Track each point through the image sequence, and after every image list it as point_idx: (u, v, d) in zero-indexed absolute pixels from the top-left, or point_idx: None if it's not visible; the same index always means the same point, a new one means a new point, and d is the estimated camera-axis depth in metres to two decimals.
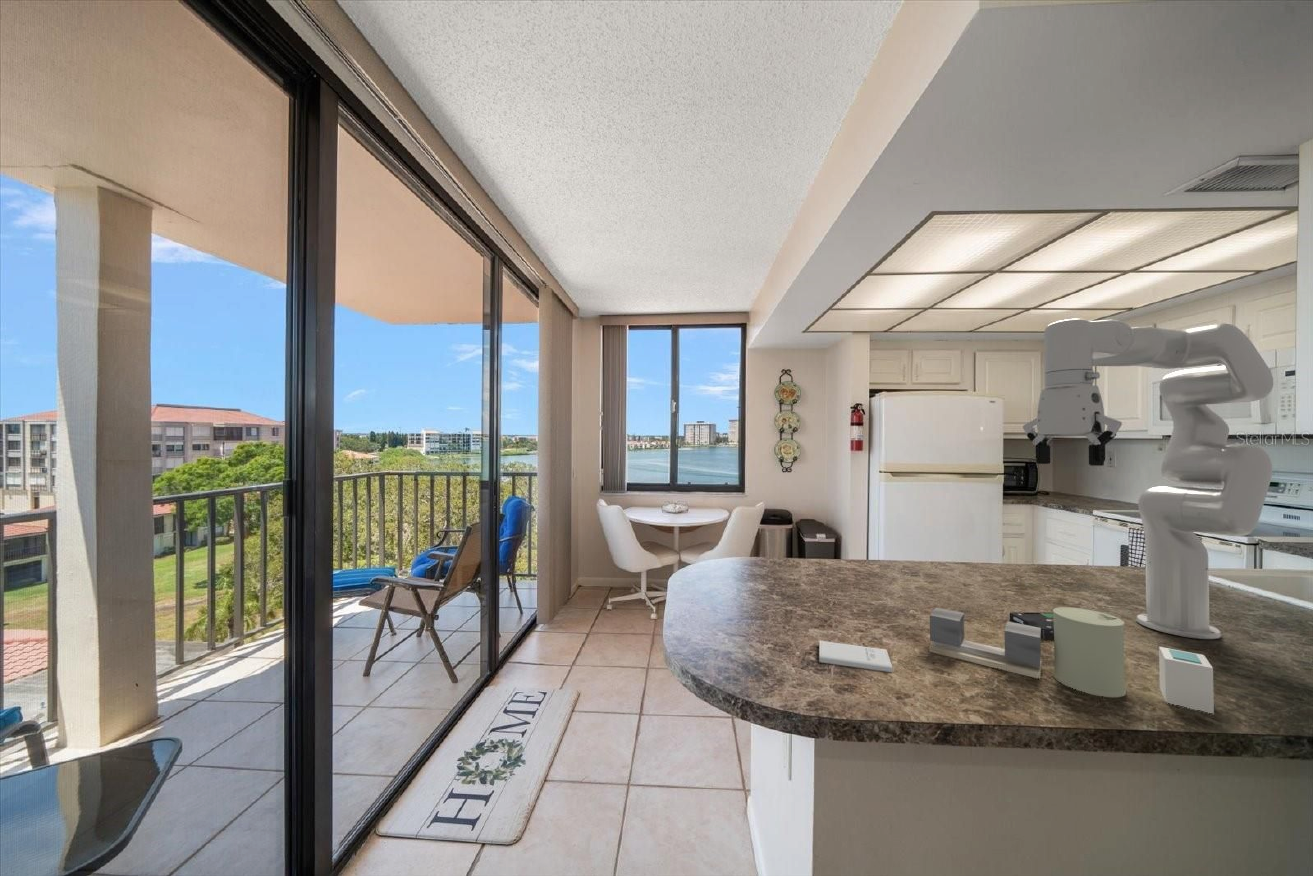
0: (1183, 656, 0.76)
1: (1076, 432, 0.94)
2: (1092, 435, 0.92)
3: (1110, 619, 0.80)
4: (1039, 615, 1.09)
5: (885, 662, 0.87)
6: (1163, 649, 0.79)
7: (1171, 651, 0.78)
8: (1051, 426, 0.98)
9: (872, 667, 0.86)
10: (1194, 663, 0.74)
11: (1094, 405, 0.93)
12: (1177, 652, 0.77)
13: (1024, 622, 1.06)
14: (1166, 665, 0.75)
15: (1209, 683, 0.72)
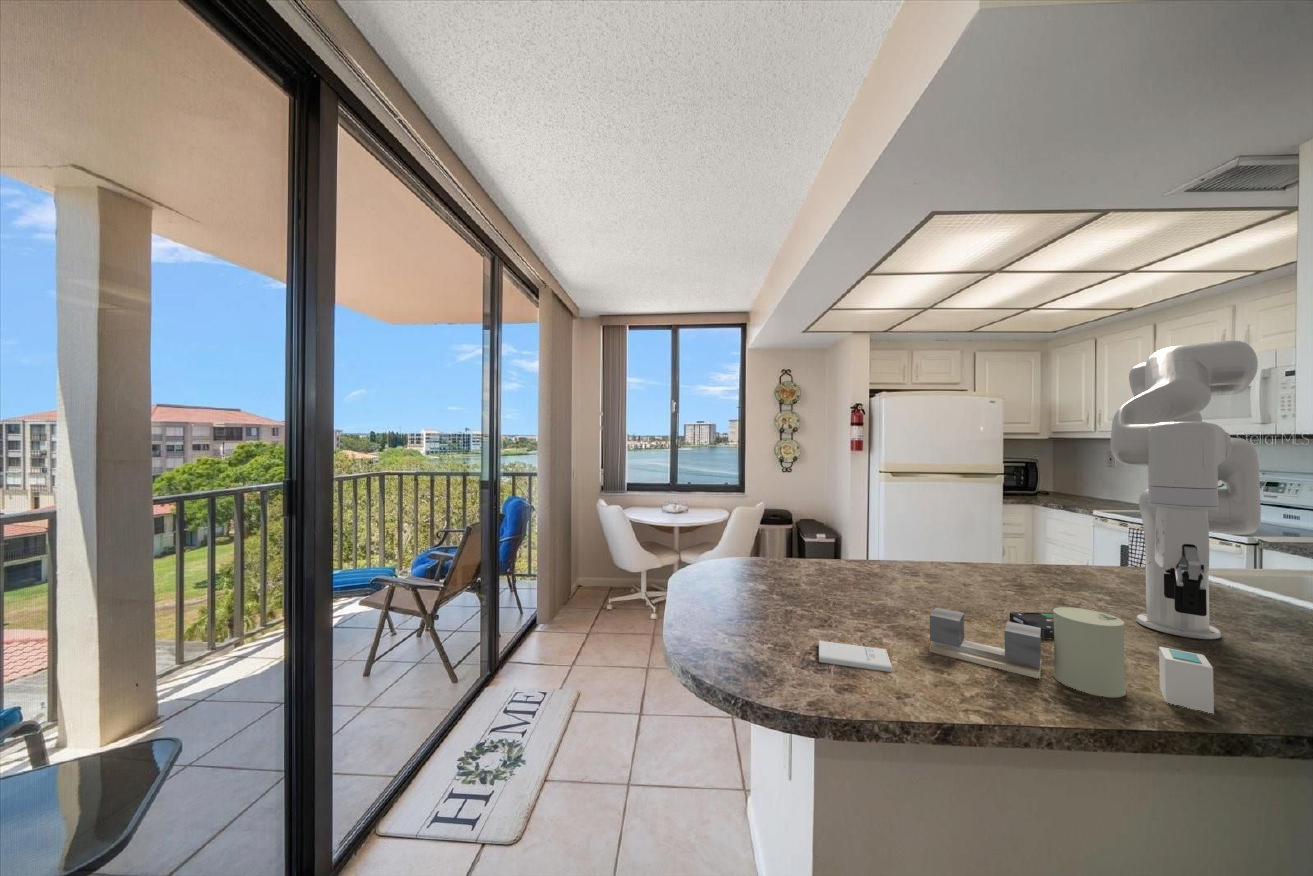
0: (1183, 656, 0.76)
1: None
2: None
3: (1110, 619, 0.80)
4: (1039, 615, 1.09)
5: (884, 662, 0.87)
6: (1163, 649, 0.79)
7: (1171, 651, 0.78)
8: None
9: (872, 666, 0.86)
10: (1194, 663, 0.74)
11: None
12: (1177, 652, 0.77)
13: (1024, 622, 1.06)
14: (1166, 665, 0.75)
15: (1209, 683, 0.72)
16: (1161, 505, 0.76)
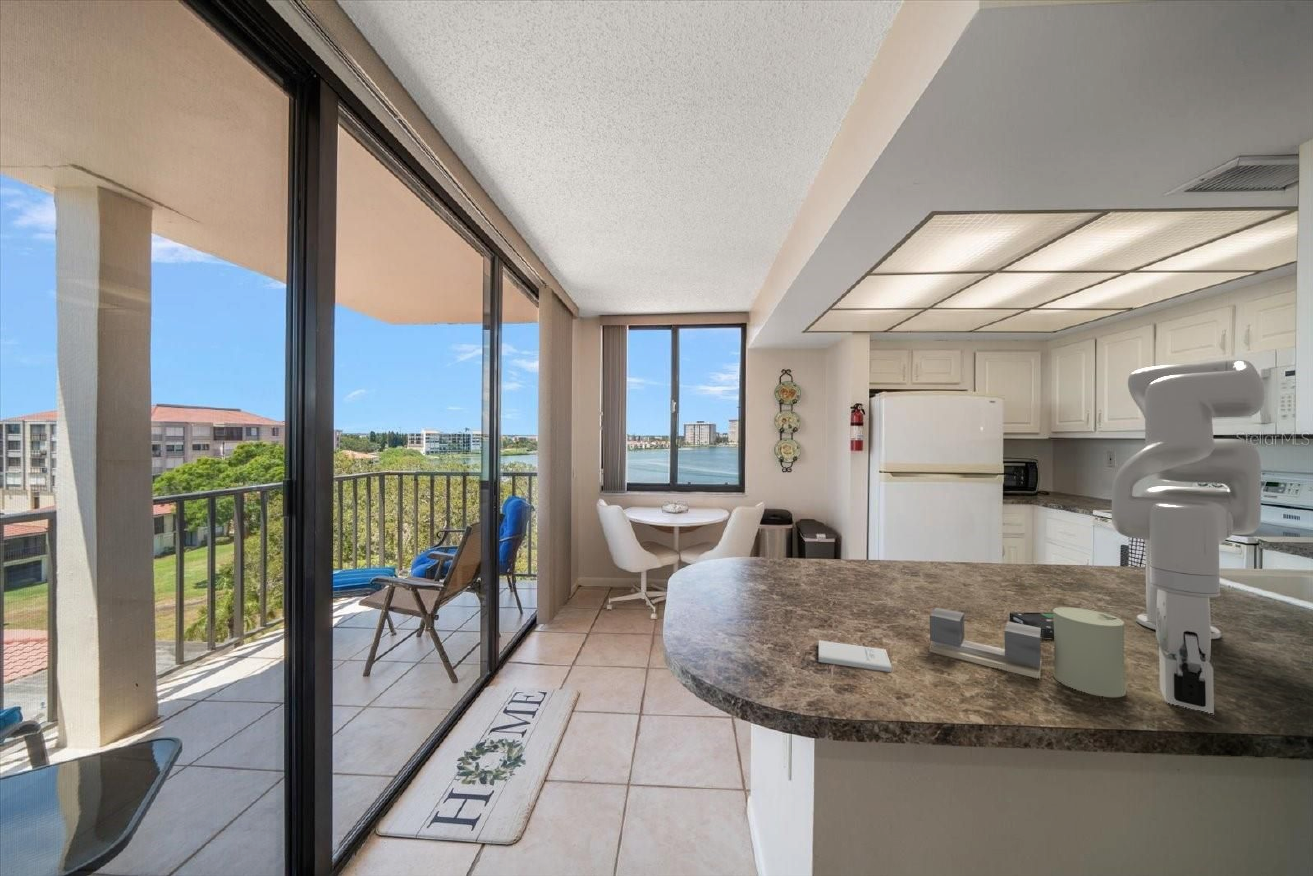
0: None
1: None
2: None
3: (1110, 619, 0.80)
4: (1039, 615, 1.09)
5: (884, 662, 0.87)
6: None
7: None
8: None
9: (871, 666, 0.86)
10: None
11: None
12: None
13: (1024, 622, 1.06)
14: (1166, 665, 0.75)
15: (1209, 683, 0.72)
16: (1162, 588, 0.76)
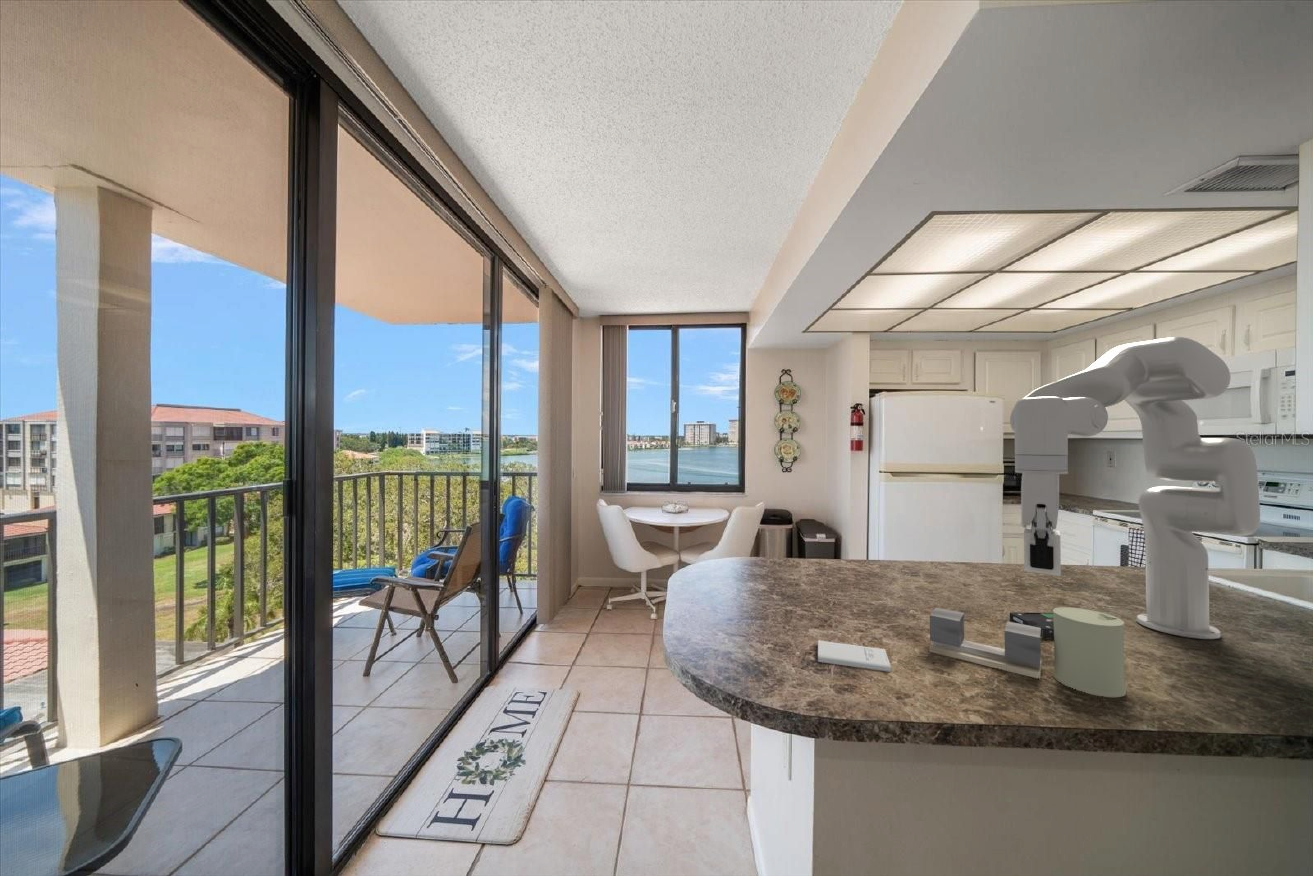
0: None
1: None
2: None
3: (1110, 619, 0.80)
4: (1039, 615, 1.09)
5: (883, 661, 0.87)
6: (1027, 528, 0.89)
7: None
8: (1057, 518, 0.84)
9: (871, 666, 0.86)
10: None
11: None
12: None
13: (1023, 622, 1.06)
14: (1024, 537, 0.85)
15: (1057, 549, 0.83)
16: (1022, 471, 0.86)
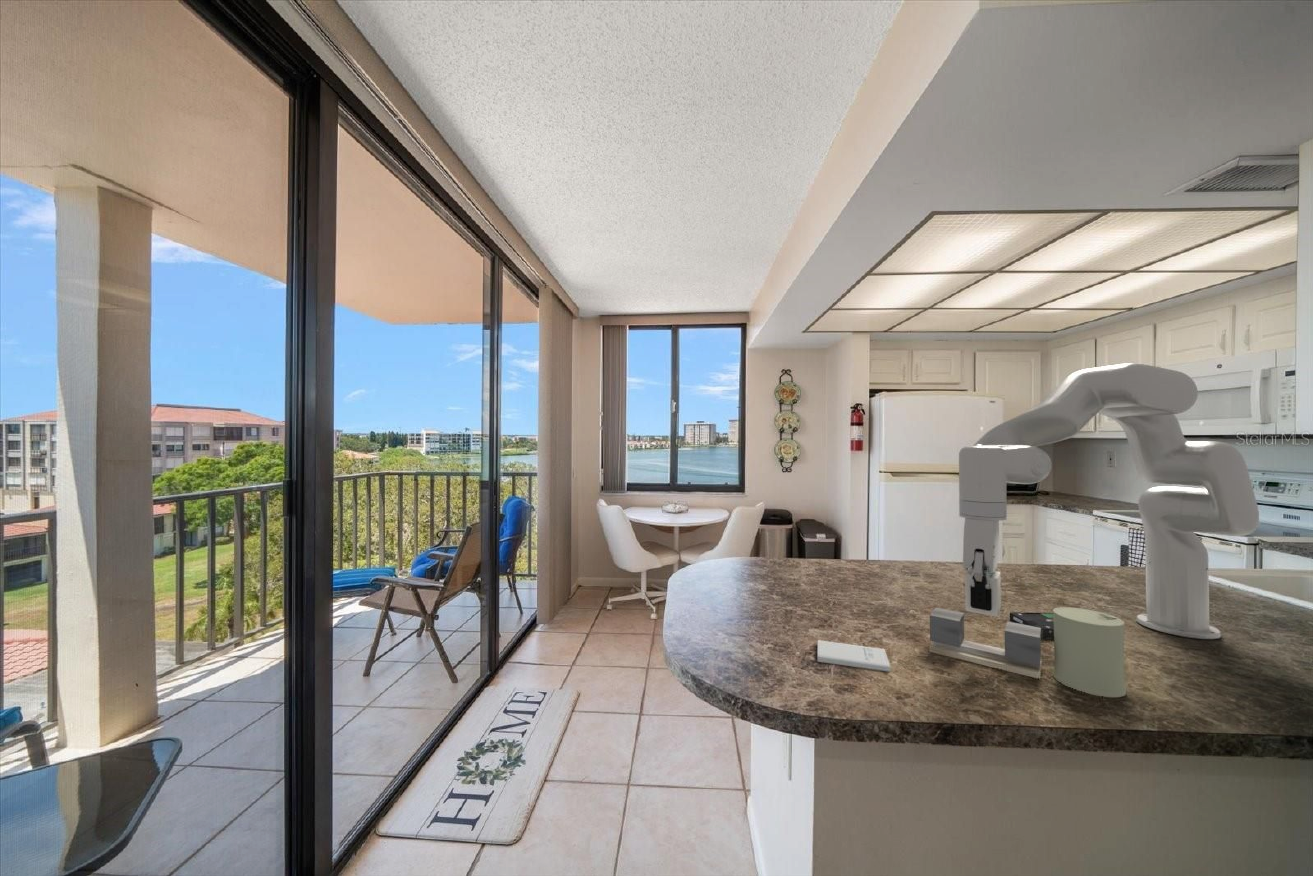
0: None
1: None
2: None
3: (1110, 619, 0.80)
4: (1040, 615, 1.09)
5: (883, 661, 0.87)
6: (971, 569, 0.94)
7: None
8: (996, 562, 0.88)
9: (870, 666, 0.86)
10: (985, 576, 0.89)
11: None
12: None
13: (1023, 622, 1.06)
14: (966, 579, 0.90)
15: (995, 591, 0.87)
16: (964, 516, 0.91)
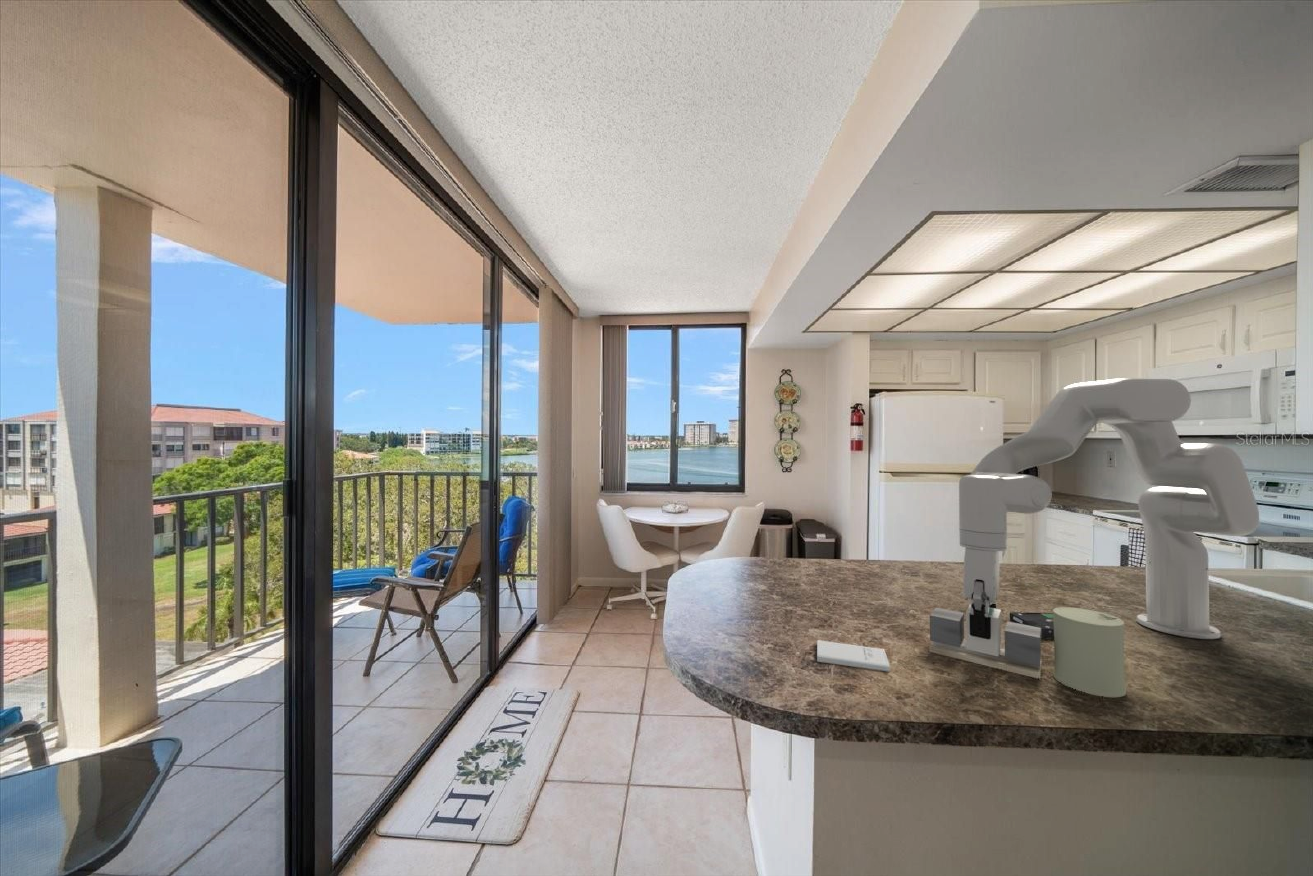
0: None
1: None
2: None
3: (1110, 619, 0.80)
4: (1040, 615, 1.09)
5: (882, 661, 0.87)
6: None
7: None
8: (996, 592, 0.88)
9: (870, 666, 0.86)
10: None
11: None
12: None
13: (1023, 622, 1.06)
14: (966, 617, 0.90)
15: (995, 630, 0.87)
16: (964, 545, 0.91)
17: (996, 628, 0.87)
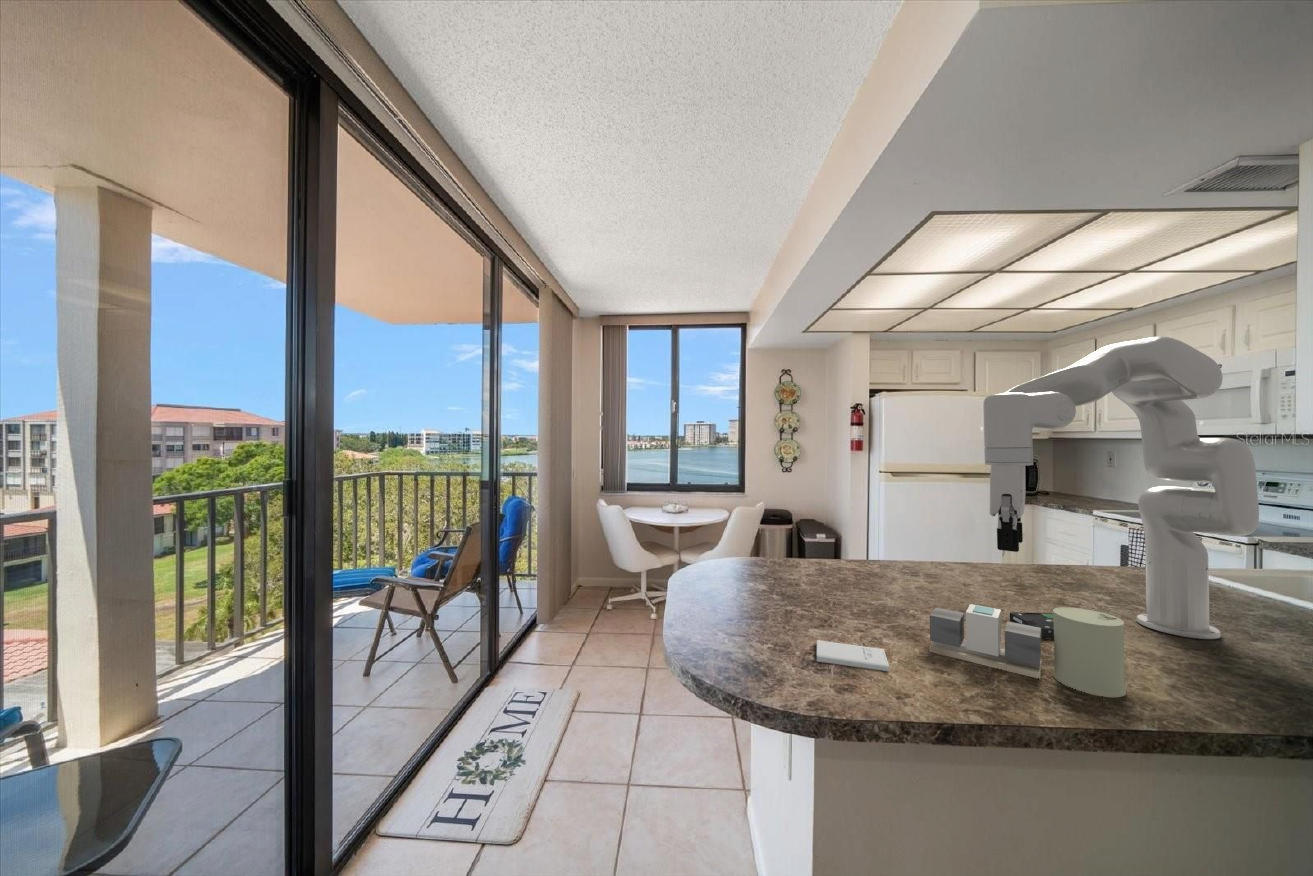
0: (981, 610, 0.91)
1: (1023, 512, 0.92)
2: None
3: (1110, 619, 0.80)
4: (1040, 615, 1.09)
5: (882, 661, 0.87)
6: (971, 606, 0.94)
7: (975, 607, 0.93)
8: (1023, 507, 0.89)
9: (869, 666, 0.87)
10: (986, 615, 0.89)
11: None
12: (980, 607, 0.92)
13: (1023, 622, 1.06)
14: (966, 617, 0.90)
15: (995, 630, 0.87)
16: (990, 463, 0.91)
17: (996, 628, 0.87)
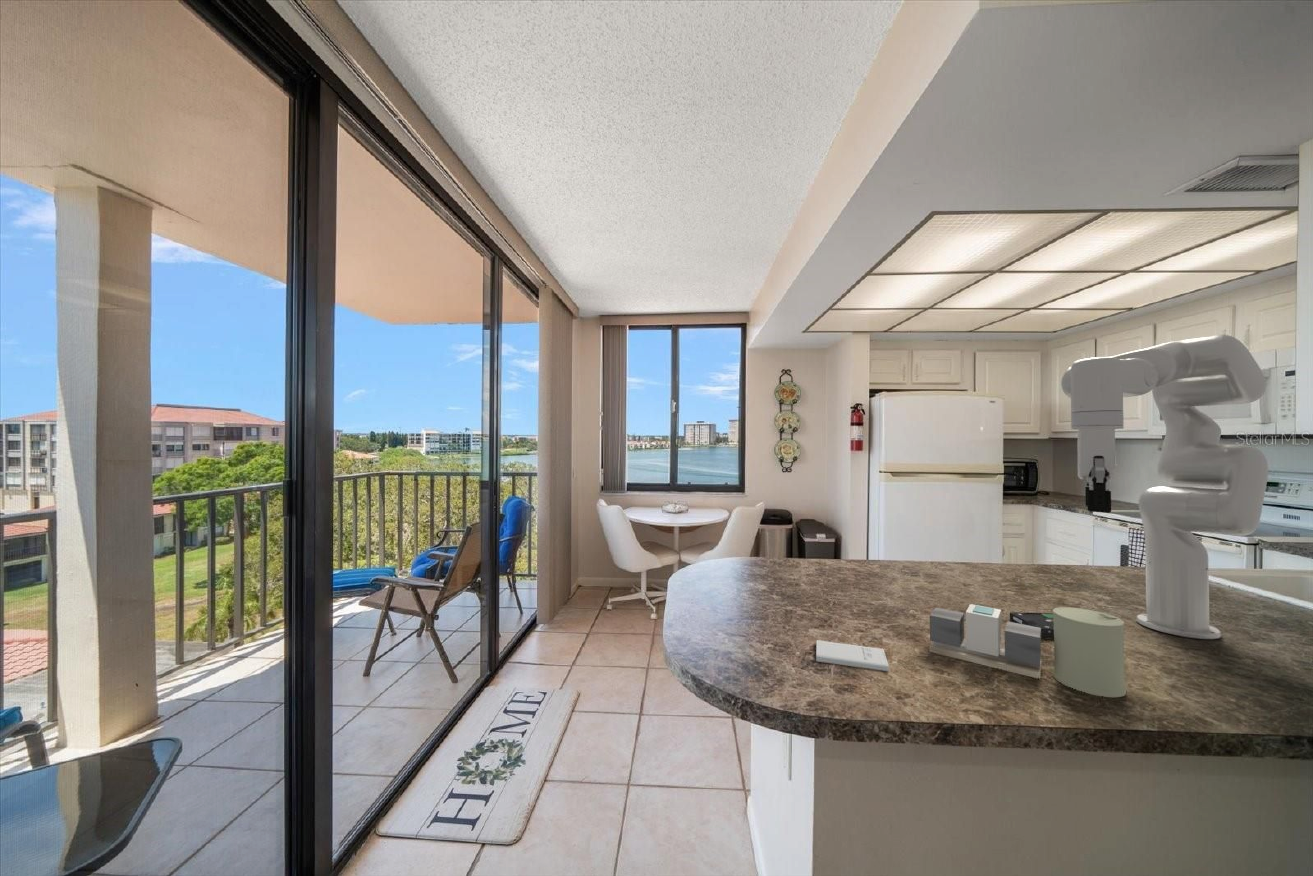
0: (981, 610, 0.91)
1: None
2: None
3: (1110, 619, 0.80)
4: (1040, 615, 1.09)
5: (881, 661, 0.87)
6: (971, 606, 0.94)
7: (975, 607, 0.93)
8: None
9: (869, 666, 0.87)
10: (986, 615, 0.89)
11: None
12: (980, 607, 0.92)
13: (1023, 622, 1.06)
14: (966, 617, 0.90)
15: (995, 630, 0.87)
16: (1079, 427, 0.93)
17: (996, 628, 0.87)
